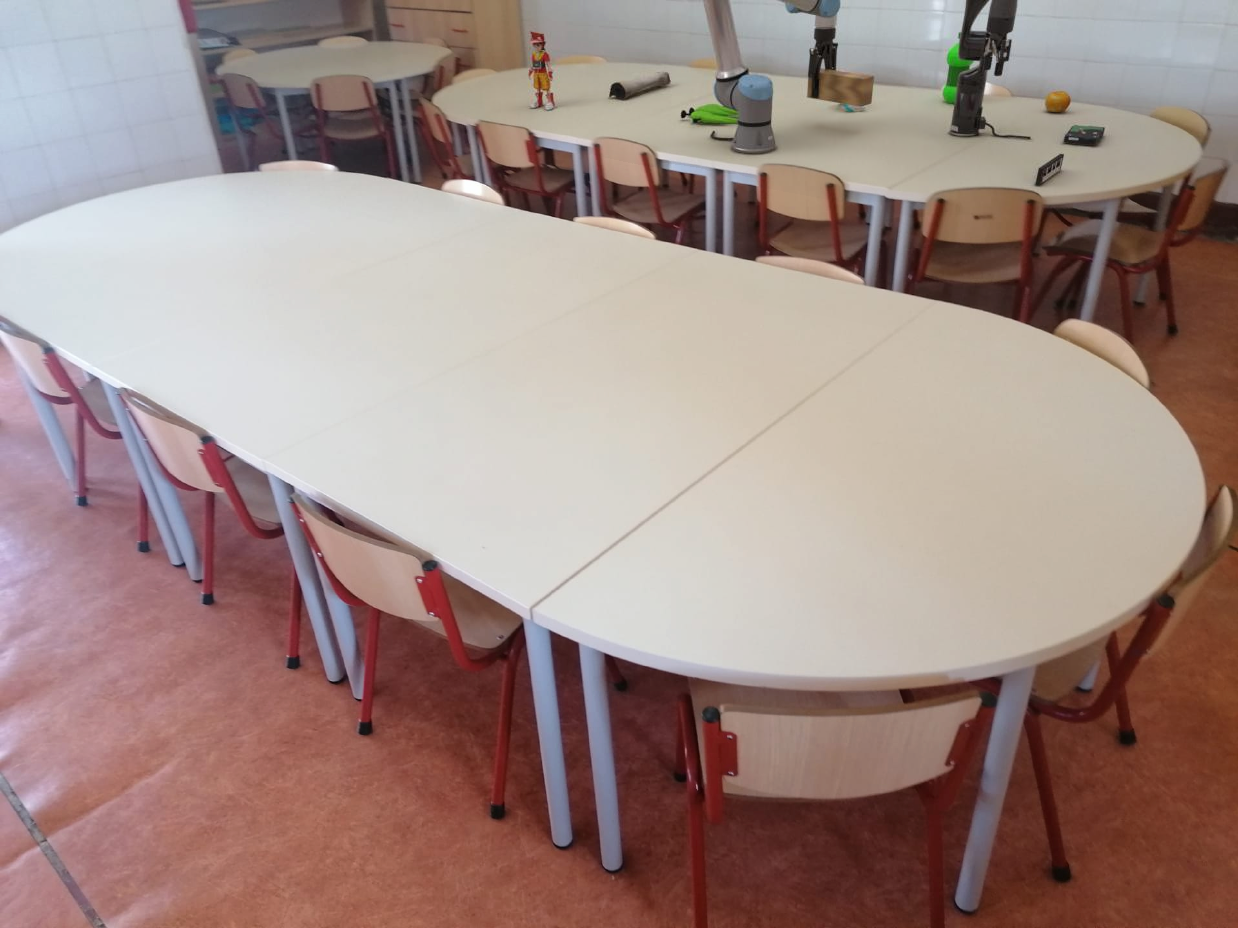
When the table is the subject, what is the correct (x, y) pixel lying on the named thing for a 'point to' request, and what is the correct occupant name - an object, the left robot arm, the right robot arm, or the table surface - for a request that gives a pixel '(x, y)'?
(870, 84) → the box
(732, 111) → the toy
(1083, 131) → the disk drive
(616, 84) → the rolled mat
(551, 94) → the toy
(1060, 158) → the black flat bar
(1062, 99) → the fruit
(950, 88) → the plastic bottle
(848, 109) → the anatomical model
